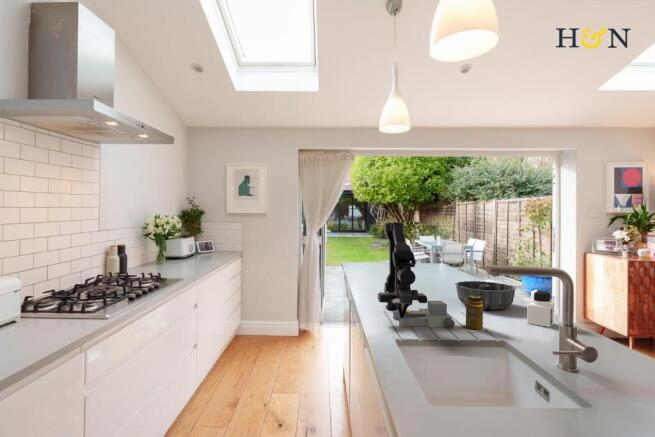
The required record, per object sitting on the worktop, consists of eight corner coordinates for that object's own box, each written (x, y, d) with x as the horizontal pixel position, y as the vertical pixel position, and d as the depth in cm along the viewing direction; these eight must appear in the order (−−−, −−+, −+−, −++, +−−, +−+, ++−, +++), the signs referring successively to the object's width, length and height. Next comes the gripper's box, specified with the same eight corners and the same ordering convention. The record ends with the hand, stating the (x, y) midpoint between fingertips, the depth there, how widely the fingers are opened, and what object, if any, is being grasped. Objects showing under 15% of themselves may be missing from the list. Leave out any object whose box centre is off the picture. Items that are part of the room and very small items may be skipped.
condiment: (487, 329, 130) (488, 297, 130) (474, 333, 125) (474, 300, 125) (470, 324, 136) (470, 293, 136) (457, 327, 132) (457, 296, 132)
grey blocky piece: (391, 316, 145) (392, 297, 145) (440, 317, 145) (440, 298, 145) (400, 328, 130) (400, 307, 130) (454, 328, 130) (454, 307, 130)
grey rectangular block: (404, 320, 140) (404, 310, 140) (421, 320, 140) (421, 309, 140) (407, 324, 135) (407, 313, 135) (425, 324, 135) (425, 313, 135)
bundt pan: (447, 299, 179) (448, 279, 179) (499, 300, 178) (499, 280, 178) (466, 312, 153) (466, 290, 153) (527, 314, 152) (527, 291, 152)
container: (553, 323, 138) (554, 291, 138) (549, 328, 132) (549, 294, 132) (531, 319, 143) (532, 288, 143) (526, 323, 137) (527, 290, 137)
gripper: (382, 283, 129) (381, 325, 129) (432, 284, 129) (431, 326, 130) (377, 278, 140) (376, 316, 140) (423, 279, 141) (422, 317, 141)
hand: (401, 319), depth 137 cm, fingers closed
